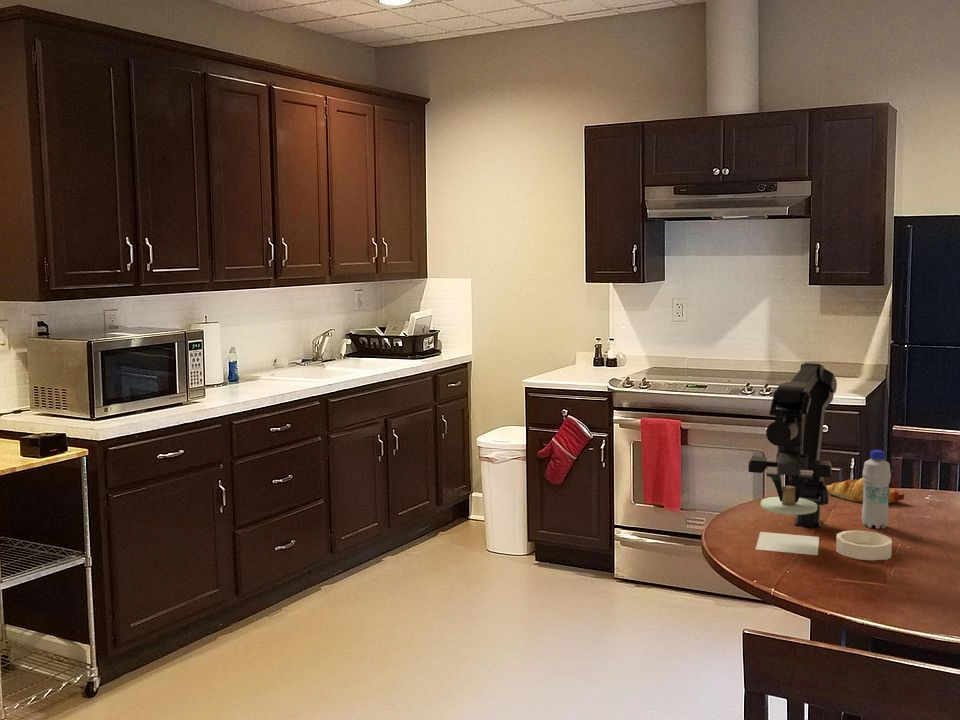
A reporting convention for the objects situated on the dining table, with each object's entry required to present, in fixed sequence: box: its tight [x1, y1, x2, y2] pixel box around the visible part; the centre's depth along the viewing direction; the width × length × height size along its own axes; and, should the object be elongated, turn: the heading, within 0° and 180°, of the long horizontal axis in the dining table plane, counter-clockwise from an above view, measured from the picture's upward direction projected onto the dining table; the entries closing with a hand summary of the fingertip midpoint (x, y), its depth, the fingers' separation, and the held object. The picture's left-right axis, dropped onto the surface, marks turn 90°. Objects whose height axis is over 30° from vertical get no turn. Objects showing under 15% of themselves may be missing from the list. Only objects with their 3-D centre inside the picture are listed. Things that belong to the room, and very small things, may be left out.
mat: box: [755, 531, 820, 556], centre depth 237 cm, size 14×14×1 cm
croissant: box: [826, 477, 905, 504], centre depth 274 cm, size 21×10×8 cm
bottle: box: [861, 449, 892, 530], centre depth 248 cm, size 7×7×20 cm
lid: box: [760, 485, 817, 516], centre depth 235 cm, size 13×13×5 cm
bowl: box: [835, 529, 893, 561], centre depth 230 cm, size 12×12×4 cm
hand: (788, 501), depth 235 cm, fingers closed on lid, 3 cm apart
